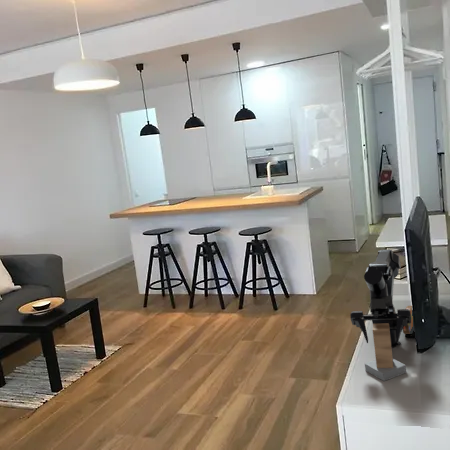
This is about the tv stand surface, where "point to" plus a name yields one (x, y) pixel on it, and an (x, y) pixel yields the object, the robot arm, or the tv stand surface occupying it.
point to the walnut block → (382, 345)
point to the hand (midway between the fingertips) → (382, 342)
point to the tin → (409, 326)
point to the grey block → (385, 370)
